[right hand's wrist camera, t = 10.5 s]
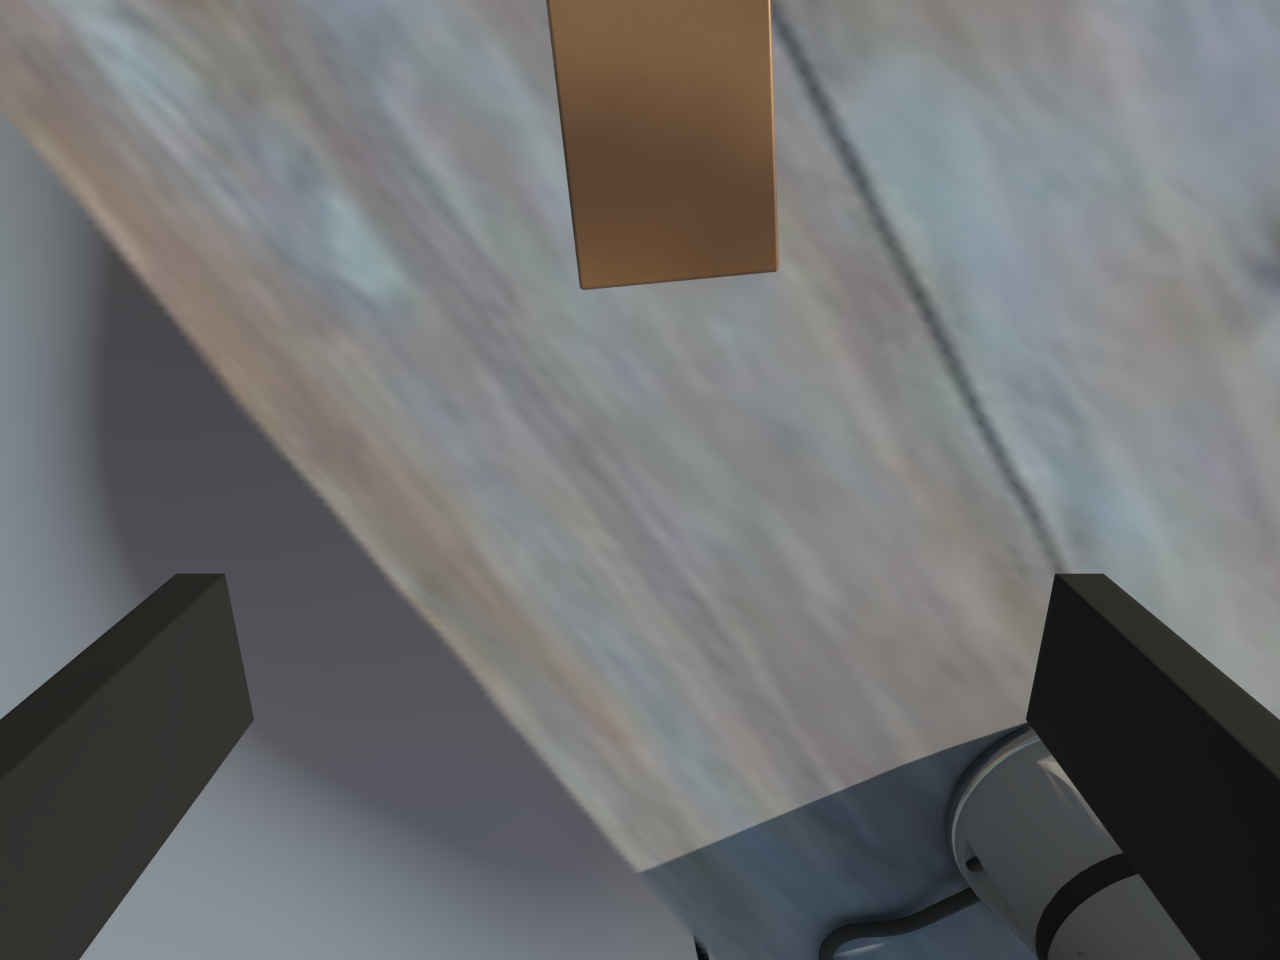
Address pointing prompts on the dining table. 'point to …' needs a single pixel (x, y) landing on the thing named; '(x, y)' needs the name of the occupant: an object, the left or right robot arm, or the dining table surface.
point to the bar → (667, 137)
